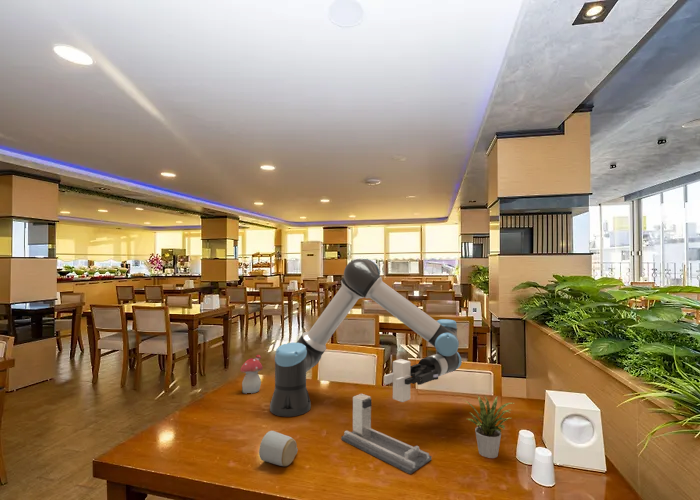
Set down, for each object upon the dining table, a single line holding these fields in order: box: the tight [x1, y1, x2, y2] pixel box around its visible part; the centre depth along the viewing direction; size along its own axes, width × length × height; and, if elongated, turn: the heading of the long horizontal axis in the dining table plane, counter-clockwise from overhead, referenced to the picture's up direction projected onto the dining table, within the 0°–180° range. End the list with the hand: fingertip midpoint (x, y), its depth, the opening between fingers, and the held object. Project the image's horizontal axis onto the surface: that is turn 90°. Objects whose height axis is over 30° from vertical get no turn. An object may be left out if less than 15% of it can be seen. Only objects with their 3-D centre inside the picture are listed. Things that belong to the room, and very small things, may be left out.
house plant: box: [463, 394, 514, 459], centre depth 105 cm, size 14×14×16 cm
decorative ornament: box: [239, 354, 263, 394], centre depth 156 cm, size 9×7×15 cm
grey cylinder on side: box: [258, 430, 299, 467], centre depth 102 cm, size 11×8×8 cm
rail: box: [341, 393, 432, 475], centre depth 108 cm, size 26×10×13 cm, turn 45°
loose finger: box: [391, 358, 412, 403], centre depth 118 cm, size 5×4×12 cm
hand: (391, 381), depth 114 cm, fingers closed on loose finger, 4 cm apart
